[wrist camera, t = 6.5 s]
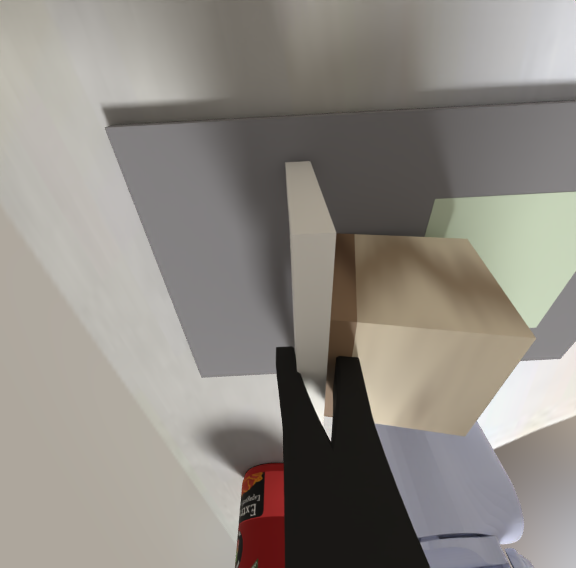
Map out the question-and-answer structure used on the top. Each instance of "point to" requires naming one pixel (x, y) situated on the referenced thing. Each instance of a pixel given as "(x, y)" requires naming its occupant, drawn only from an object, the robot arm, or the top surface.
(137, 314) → the top surface
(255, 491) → the canned food
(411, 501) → the robot arm
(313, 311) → the gate
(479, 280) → the birch cube
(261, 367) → the rubber mat
